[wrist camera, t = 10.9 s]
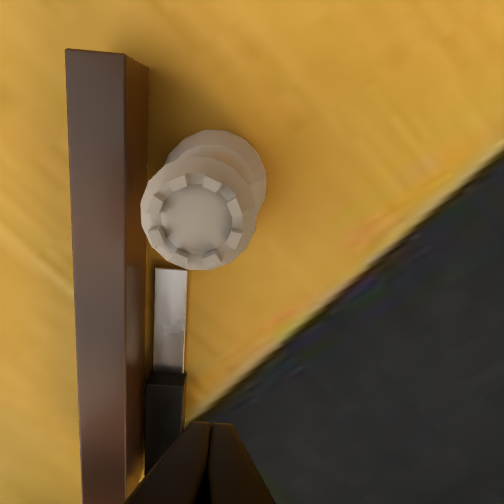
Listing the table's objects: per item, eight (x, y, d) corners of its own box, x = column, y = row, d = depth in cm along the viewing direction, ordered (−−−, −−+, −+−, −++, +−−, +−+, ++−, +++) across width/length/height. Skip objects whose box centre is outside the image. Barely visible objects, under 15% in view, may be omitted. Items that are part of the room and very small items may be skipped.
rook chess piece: (257, 120, 18) (267, 119, 10) (273, 222, 19) (292, 289, 12) (153, 138, 18) (86, 150, 10) (176, 239, 19) (131, 314, 12)
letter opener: (182, 461, 23) (179, 479, 22) (149, 459, 23) (144, 477, 22) (191, 268, 20) (188, 277, 19) (152, 265, 20) (147, 274, 19)
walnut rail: (143, 466, 23) (126, 525, 20) (105, 464, 23) (82, 522, 20) (148, 66, 17) (125, 53, 14) (99, 62, 17) (63, 47, 14)
